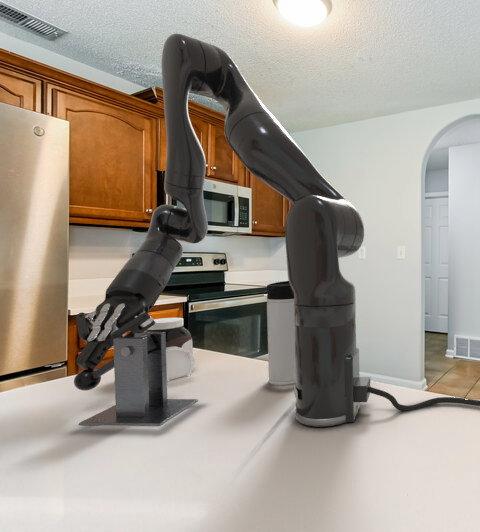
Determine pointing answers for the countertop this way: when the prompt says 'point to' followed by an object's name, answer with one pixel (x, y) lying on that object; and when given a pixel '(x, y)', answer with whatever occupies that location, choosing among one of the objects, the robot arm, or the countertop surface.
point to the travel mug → (281, 334)
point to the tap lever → (101, 371)
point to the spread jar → (176, 346)
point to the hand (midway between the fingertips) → (84, 366)
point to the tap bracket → (140, 385)
